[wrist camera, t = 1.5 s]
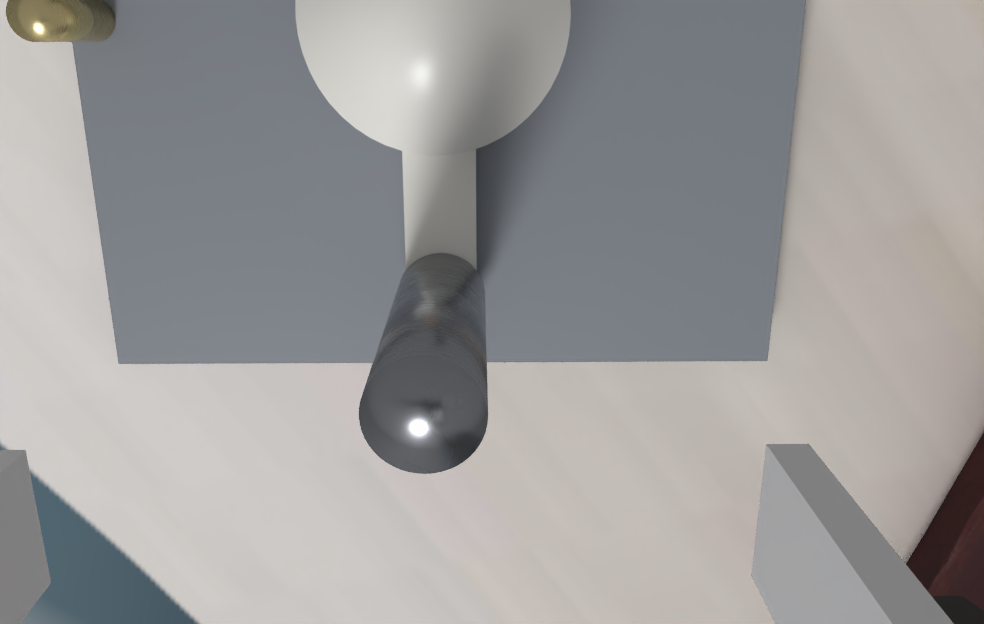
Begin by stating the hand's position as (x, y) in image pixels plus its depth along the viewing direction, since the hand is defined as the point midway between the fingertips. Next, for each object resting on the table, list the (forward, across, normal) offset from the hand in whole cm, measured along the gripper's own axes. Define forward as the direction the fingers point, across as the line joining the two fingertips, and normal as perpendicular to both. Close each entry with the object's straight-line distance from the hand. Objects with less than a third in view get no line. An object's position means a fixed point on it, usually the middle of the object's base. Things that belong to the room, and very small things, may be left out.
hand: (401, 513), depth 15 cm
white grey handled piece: (+16, 0, -9) cm, 18 cm away
